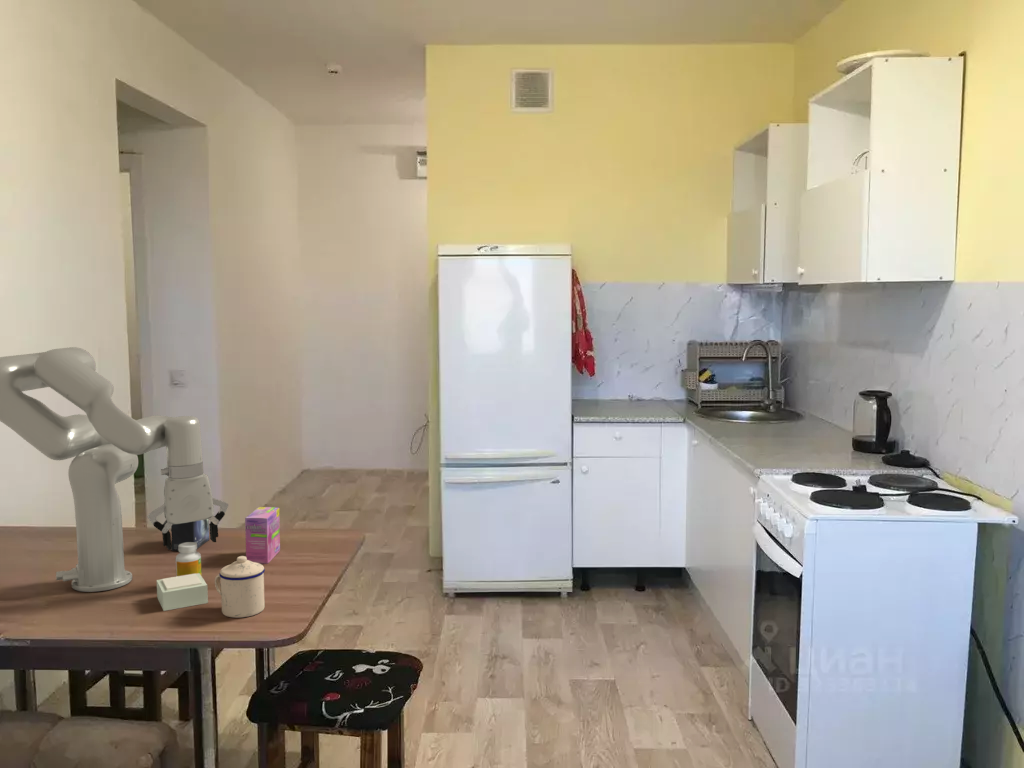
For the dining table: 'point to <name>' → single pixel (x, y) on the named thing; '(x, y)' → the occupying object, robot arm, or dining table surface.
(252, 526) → the box
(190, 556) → the supplement bottle
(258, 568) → the teacup with lid
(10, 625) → the dining table surface
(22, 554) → the dining table surface
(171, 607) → the pedestal
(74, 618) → the dining table surface
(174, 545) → the small box
